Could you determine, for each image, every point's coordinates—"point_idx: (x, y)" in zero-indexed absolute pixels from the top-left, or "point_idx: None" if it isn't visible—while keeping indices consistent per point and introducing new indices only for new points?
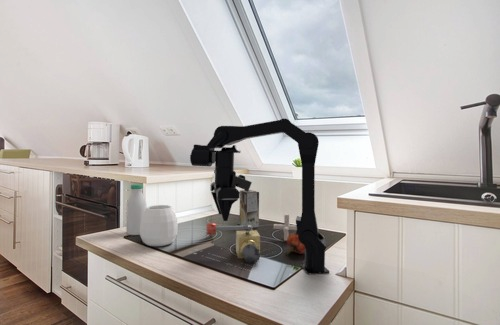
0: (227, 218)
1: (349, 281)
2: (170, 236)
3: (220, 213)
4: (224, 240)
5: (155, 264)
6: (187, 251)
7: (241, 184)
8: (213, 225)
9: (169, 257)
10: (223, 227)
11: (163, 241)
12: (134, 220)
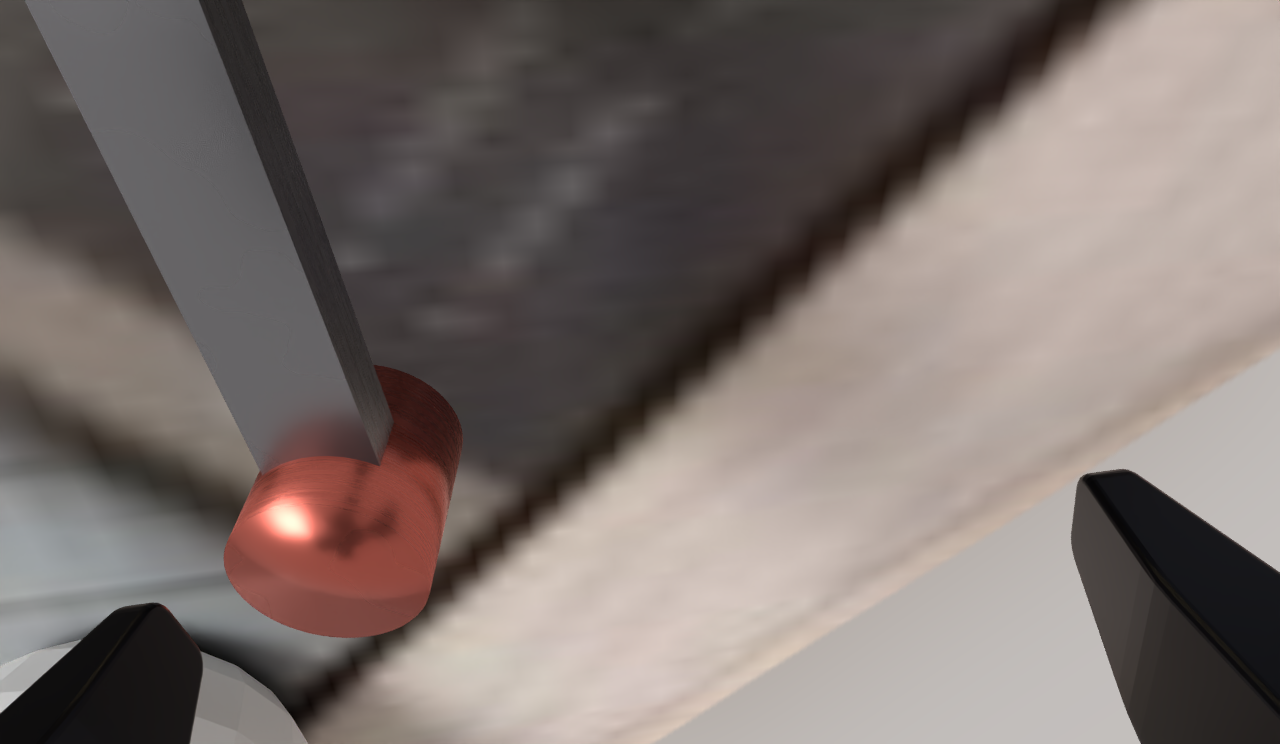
0: (1186, 524)
1: None
2: (199, 720)
3: (184, 657)
4: None
5: (717, 636)
6: None
7: None
8: (414, 531)
9: (542, 582)
10: (322, 318)
11: (268, 717)
12: None
